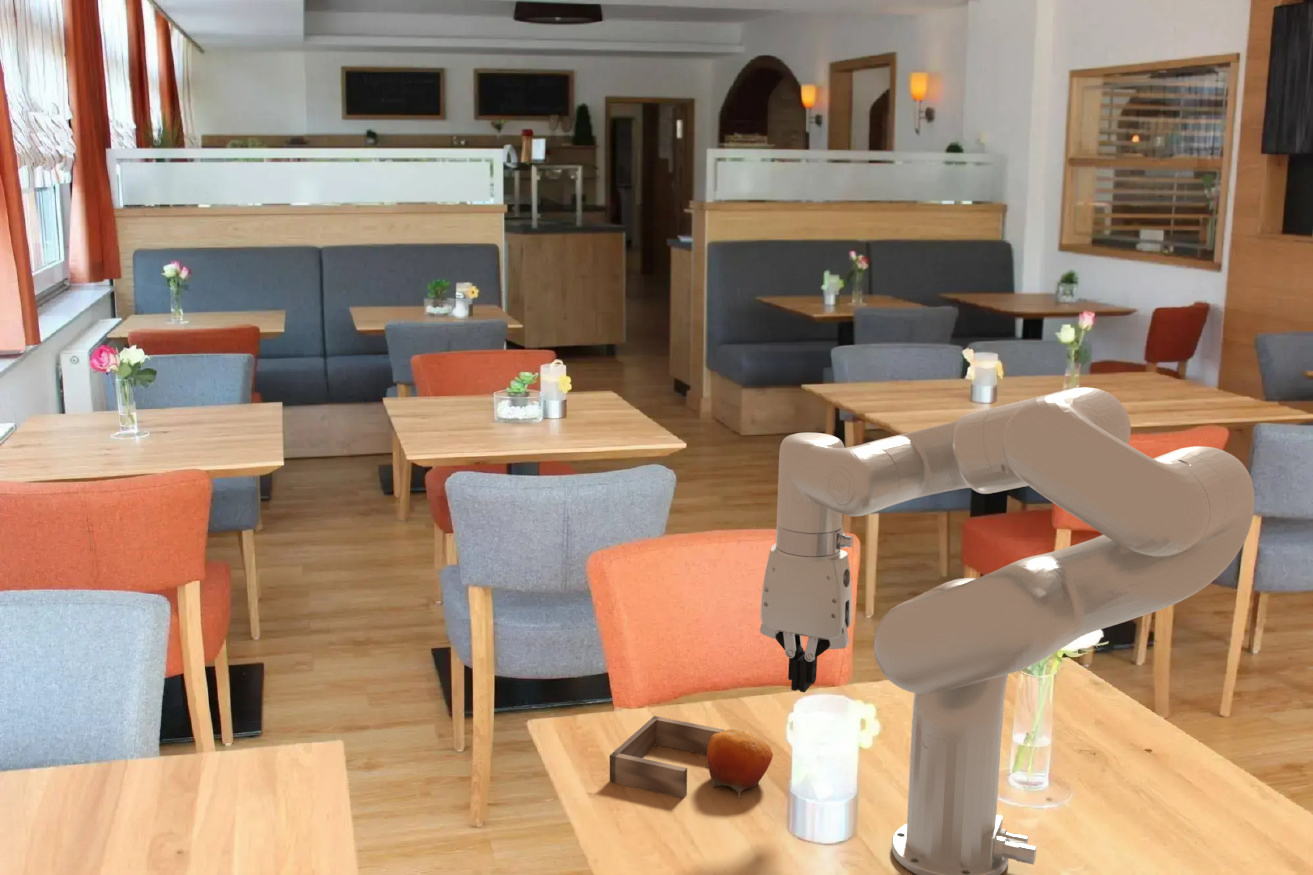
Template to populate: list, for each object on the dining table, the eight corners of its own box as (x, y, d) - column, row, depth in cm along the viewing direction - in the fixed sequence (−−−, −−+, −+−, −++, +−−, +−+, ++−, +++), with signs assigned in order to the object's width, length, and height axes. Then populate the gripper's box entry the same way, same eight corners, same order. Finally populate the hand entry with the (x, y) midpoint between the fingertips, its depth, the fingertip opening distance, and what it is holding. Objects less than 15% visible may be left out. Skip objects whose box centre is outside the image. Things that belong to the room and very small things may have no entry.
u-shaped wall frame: (723, 754, 167) (724, 729, 166) (683, 798, 155) (683, 771, 155) (654, 740, 171) (654, 715, 170) (609, 781, 160) (609, 755, 159)
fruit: (687, 784, 156) (703, 719, 158) (711, 792, 163) (725, 729, 165) (748, 799, 152) (763, 732, 154) (770, 807, 159) (784, 742, 161)
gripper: (879, 540, 150) (871, 687, 154) (759, 523, 156) (754, 665, 160) (861, 557, 143) (853, 711, 147) (736, 539, 149) (731, 687, 153)
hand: (801, 687), depth 153 cm, fingers closed
